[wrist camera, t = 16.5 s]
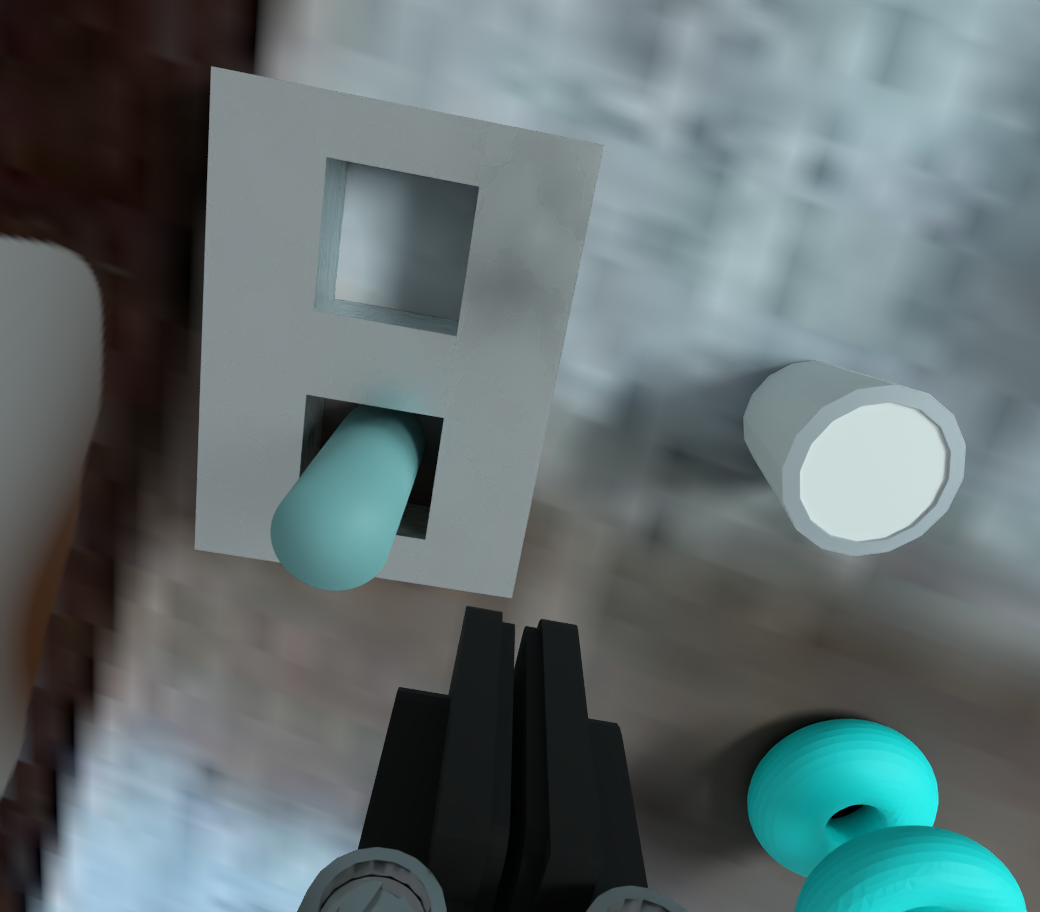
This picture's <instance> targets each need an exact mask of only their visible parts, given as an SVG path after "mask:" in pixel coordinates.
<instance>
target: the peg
mask: <svg viewBox="0 0 1040 912" xmlns="http://www.w3.org/2000/svg"><path fill="white" fill-rule="evenodd" d="M424 450H425V438H424V433H423V431H422V428H421V426H420V424H419V422H418V421H417V419H416V418H415V417H414V416H413V415H412V414H411V413H410V412H406V411H400V410H394V409H388V408H382V407H377V406H371V405H365V404H361V405H359V406H358V407H356V408H354V409H353V410H352V411H351V412H350V413H349V414H348V415H347V416H346V417H345V419H344V420H343V421H342V423H341V424H340V425H339V426H338V428H337V429H336V430H335V432H334V433H333V434H332V436H331V437H330V438H329V440H328V441H327V442H326V444H325V445H324V446H323V448H322V449H321V450H320V452H319V453H318V454H317V455H316V457H315V458H314V459H313V461H312V462H311V463H310V465H309V466H308V467H307V469H306V470H305V471H304V473H303V474H302V475H301V477H300V478H299V479H298V481H297V482H296V483H295V484H294V486H293V487H292V488H291V490H290V491H289V492H288V494H287V495H286V496H285V498H284V499H283V500H282V502H281V503H280V504H279V506H278V507H277V509H276V511H275V513H274V515H273V518H272V522H271V529H270V536H271V543H272V546H273V549H274V552H275V554H276V556H277V558H278V560H279V561H280V563H281V564H282V565H283V567H284V568H285V569H286V570H287V571H288V572H289V573H290V574H291V575H293V576H294V577H295V578H297V579H298V580H300V581H301V582H303V583H305V584H307V585H310V586H312V587H315V588H318V589H323V590H331V591H341V590H348V589H352V588H356V587H358V586H361V585H363V584H365V583H367V582H368V581H370V580H371V579H372V578H374V577H375V576H376V575H377V574H378V573H379V572H380V570H381V569H382V568H383V566H384V565H385V563H386V561H387V558H388V556H389V553H390V550H391V547H392V544H393V541H394V538H395V536H396V533H397V530H398V527H399V524H400V521H401V518H402V515H403V512H404V510H405V507H406V504H407V501H408V498H409V495H410V492H411V489H412V486H413V484H414V481H415V478H416V475H417V472H418V469H419V466H420V463H421V460H422V457H423V455H424Z"/></svg>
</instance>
